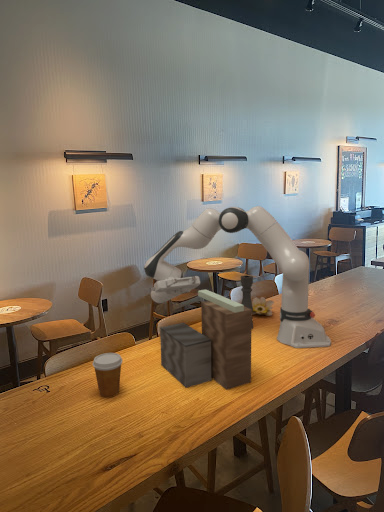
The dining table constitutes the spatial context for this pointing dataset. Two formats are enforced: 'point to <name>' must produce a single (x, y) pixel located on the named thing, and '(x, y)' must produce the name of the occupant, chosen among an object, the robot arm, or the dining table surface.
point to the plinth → (228, 343)
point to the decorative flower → (262, 306)
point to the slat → (221, 301)
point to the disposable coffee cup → (108, 373)
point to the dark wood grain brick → (186, 354)
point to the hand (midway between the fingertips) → (185, 279)
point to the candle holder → (247, 292)
